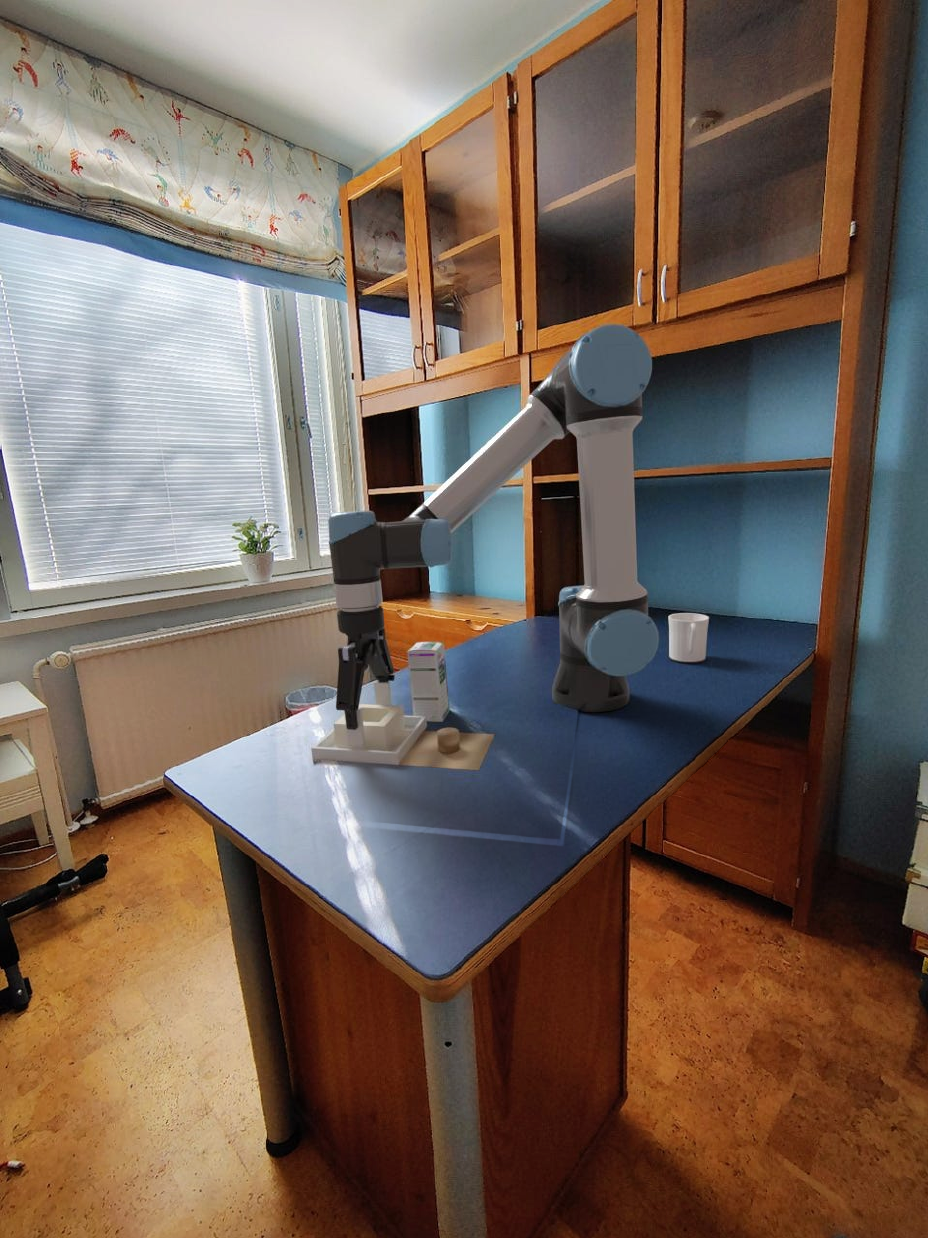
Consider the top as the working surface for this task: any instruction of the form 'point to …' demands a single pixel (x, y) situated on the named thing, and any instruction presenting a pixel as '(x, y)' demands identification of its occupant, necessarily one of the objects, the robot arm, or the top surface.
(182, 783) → the top surface
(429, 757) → the tan square lid
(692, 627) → the mug
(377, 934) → the top surface
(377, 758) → the tray
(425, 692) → the syrup box
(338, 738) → the cream hollow block
